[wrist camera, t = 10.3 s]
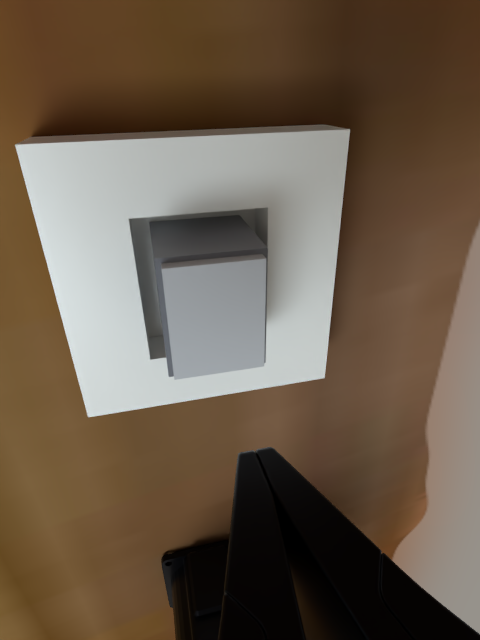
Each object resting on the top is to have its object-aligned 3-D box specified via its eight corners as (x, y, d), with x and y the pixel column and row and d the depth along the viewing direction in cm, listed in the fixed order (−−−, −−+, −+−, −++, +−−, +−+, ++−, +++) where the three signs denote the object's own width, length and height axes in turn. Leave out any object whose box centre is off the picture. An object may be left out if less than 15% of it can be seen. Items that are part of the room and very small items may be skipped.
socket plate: (307, 352, 24) (324, 377, 22) (92, 385, 22) (88, 417, 20) (324, 124, 18) (349, 129, 16) (30, 136, 16) (15, 144, 14)
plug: (240, 312, 21) (269, 369, 17) (161, 322, 20) (169, 384, 16) (239, 214, 19) (271, 252, 14) (148, 221, 18) (155, 263, 14)
